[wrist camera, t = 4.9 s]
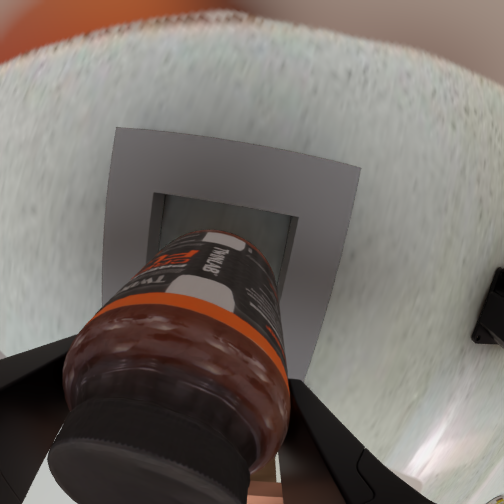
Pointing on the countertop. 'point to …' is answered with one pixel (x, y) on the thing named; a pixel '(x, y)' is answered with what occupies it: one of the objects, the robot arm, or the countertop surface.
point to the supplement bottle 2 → (497, 500)
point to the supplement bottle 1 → (177, 381)
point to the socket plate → (240, 194)
